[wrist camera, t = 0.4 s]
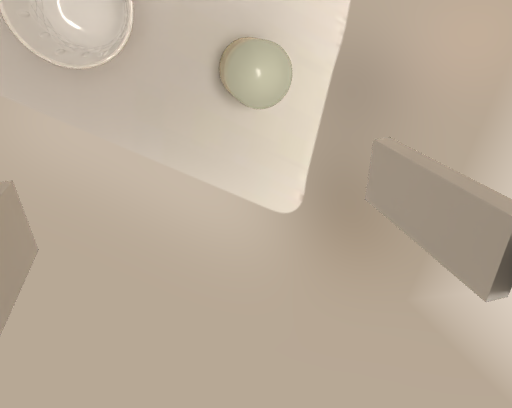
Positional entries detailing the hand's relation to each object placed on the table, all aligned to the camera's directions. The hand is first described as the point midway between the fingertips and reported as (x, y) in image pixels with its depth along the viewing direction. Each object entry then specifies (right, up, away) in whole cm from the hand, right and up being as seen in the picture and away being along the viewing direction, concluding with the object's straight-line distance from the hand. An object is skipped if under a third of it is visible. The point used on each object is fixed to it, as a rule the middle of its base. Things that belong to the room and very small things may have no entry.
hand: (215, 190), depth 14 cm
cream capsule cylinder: (+1, +13, +24) cm, 27 cm away
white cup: (-13, +17, +18) cm, 28 cm away
